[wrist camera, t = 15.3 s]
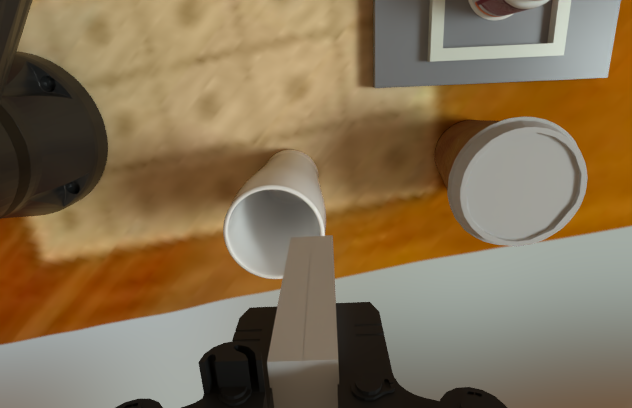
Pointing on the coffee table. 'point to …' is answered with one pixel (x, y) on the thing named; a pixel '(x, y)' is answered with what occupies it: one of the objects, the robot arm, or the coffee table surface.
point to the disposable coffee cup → (511, 178)
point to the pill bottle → (505, 6)
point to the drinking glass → (275, 213)
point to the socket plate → (490, 42)
